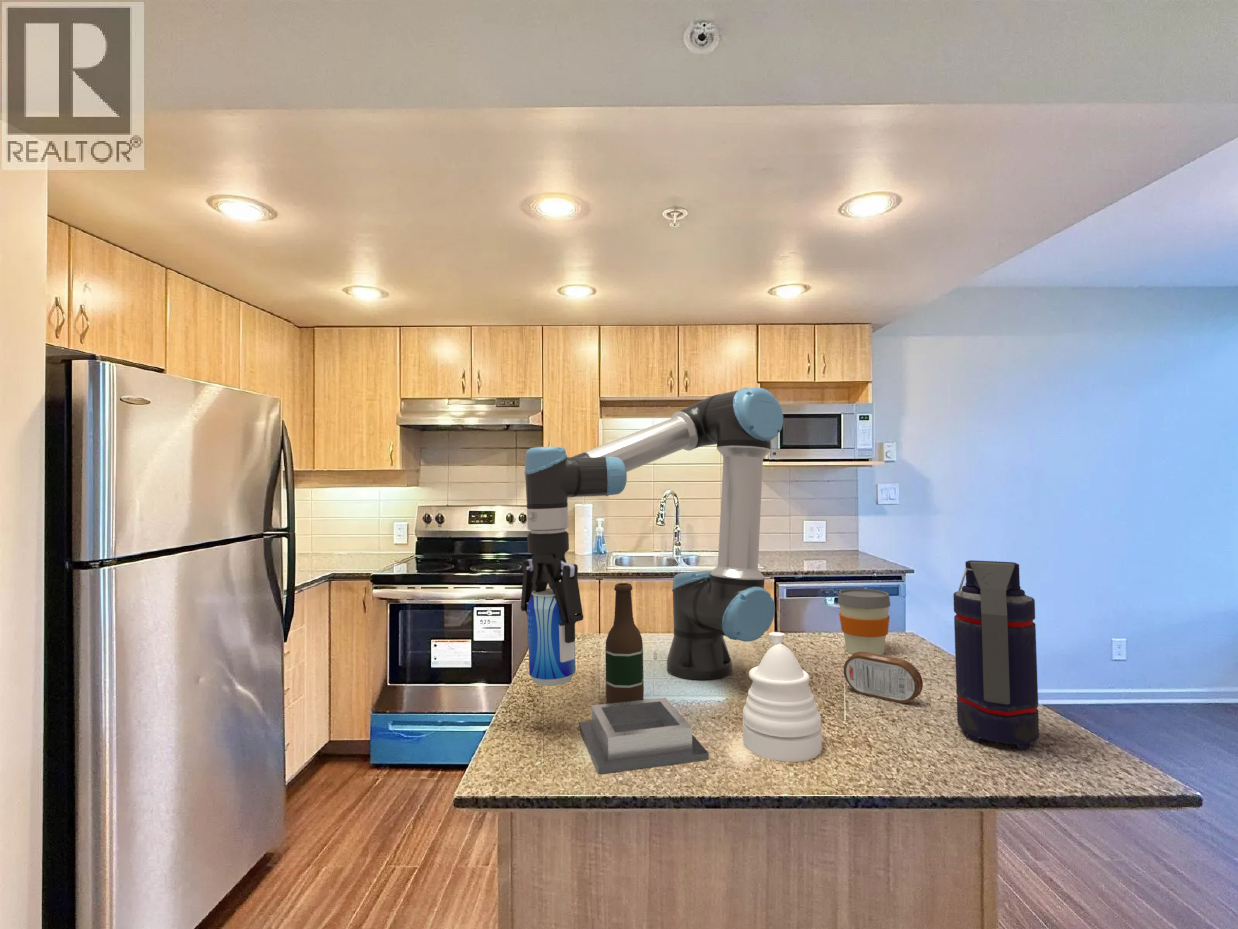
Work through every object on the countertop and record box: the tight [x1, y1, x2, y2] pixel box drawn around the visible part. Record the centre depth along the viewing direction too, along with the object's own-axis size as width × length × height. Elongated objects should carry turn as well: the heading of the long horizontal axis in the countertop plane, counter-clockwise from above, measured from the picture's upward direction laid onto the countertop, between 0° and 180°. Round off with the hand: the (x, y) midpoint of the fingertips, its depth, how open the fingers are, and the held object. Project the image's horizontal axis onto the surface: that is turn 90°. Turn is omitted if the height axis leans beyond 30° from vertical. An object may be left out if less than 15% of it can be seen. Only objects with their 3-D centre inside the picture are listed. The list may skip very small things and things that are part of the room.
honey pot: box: [742, 631, 823, 763], centre depth 102 cm, size 13×13×18 cm
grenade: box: [952, 559, 1040, 751], centre depth 103 cm, size 14×12×30 cm
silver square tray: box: [578, 697, 710, 775], centre depth 103 cm, size 18×18×4 cm
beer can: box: [526, 587, 577, 687], centre depth 110 cm, size 8×8×16 cm
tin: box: [843, 652, 924, 704], centre depth 123 cm, size 15×3×8 cm, turn 47°
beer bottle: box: [604, 582, 645, 704], centre depth 121 cm, size 8×8×24 cm
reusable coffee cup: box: [837, 588, 891, 655], centre depth 155 cm, size 13×13×15 cm
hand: (552, 655), depth 110 cm, fingers closed on beer can, 8 cm apart
